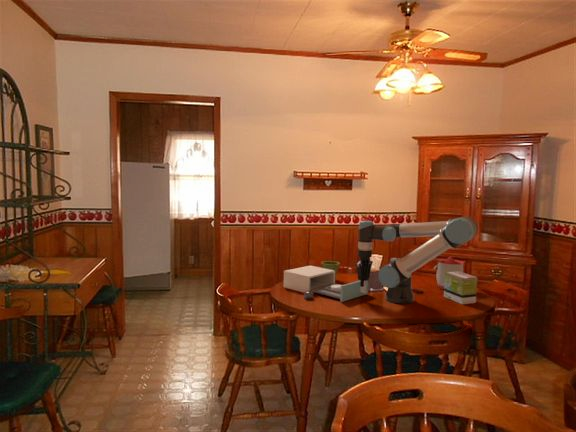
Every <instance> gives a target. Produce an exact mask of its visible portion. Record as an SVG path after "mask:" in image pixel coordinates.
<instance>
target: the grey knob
mask: <svg viewBox="0 0 576 432" xmlns="http://www.w3.org/2000/svg"><path fill="white" fill-rule="evenodd" d="M303 299H305V300H306V301H307V300H313V299H314V293H313V292H312V291H305V292H303Z"/></svg>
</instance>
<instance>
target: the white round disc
mask: <svg viewBox="0 0 576 432" xmlns="http://www.w3.org/2000/svg"><path fill="white" fill-rule="evenodd" d="M342 285H343V284H339V285H331V289H332V290H336V291H341V286H342Z"/></svg>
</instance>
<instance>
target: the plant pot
mask: <svg viewBox="0 0 576 432" xmlns="http://www.w3.org/2000/svg"><path fill="white" fill-rule="evenodd" d="M320 263H321V264H322V265H321V266H322V268H325V269H330V270H334V271H335V280H337V274H338V269H339V266H340V264H341V263H340V262H338V261H333V260H328V261H327V260H326V261H321V262H320Z"/></svg>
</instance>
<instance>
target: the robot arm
mask: <svg viewBox="0 0 576 432" xmlns="http://www.w3.org/2000/svg"><path fill="white" fill-rule="evenodd" d="M358 225H359V226H358V243H357V249H358V250H357V256H358V257H359V259H358V262H356V263H355V266H356V273H357V279H358V280H357V281H361V283H360V284H361V285H360V286H361V287H360V292H363V293H366V284H367V281H368V282H369V279H370V277H371V276H370V275H371V271H372V265H373V263H374V262H373V260H371V258H372V256H373V241H374V240H376V241H383V242H384V241H385V242H394V241H395V239H397V238H398V239H400V238H401V239H402V238H419V237H420V238H424V237H425V238H427V237H429V238H430V237H432V238H431V239H429V240H428V241H426V242H424V243H423V244H421V245H420V246H419V247H418V246H417V248H416V249H414V250H413V251H411V252H409V253H408V254H407V255H405V256H403V257H402V258H400V257H391V258H390V261H389V263H388V264H386V265H383V266H382V267H381V268H380V269H379V271H378V274H377V275H378V281H379V282H380V283H381V285H382V286H383V287H385V288H387V291H386V292H385V300H386V301H388V302H390V303H393V304H405V305H406V304H412V303H414V302H415V301H414V299H415V296H414V293H413V288H412V275H413V274H412V273H413V272H415V271H416V270H419V269H420V268H422V267H424V265H426V264H428V263H429V262H430V261H433V260H434V259H435V258H437V257H439V256H440V255H442V254H443V253H446V252H447V251H448V250H450V249H452V250H456V249H457V248H459V247H461V246H462V245H463V244H466V243H467V242H468V241H469V242H470V240H472V239H474V238H475V237H476V236H477V234H478V232H479V225H478V223H477V221H476V220H475V219H474V218H473V217H470V216H461V217H457V218H456V217H455V218H449V219H448V220H443V221H427V222H425V221H424V222H411V223H390V224H387V225H375V224H374V222H373V221H372V220H360V221H359V224H358Z"/></svg>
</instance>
